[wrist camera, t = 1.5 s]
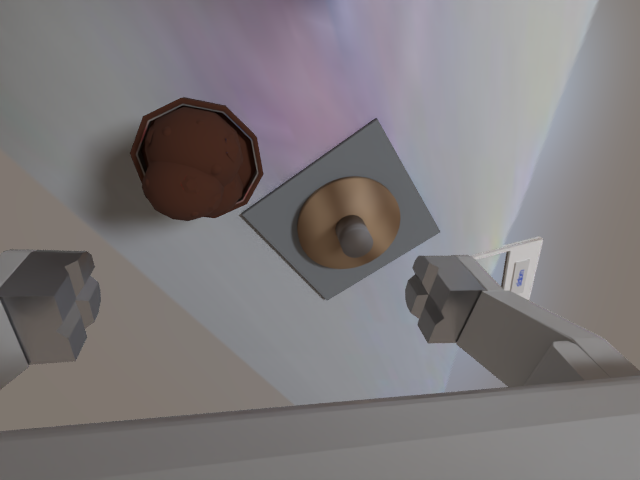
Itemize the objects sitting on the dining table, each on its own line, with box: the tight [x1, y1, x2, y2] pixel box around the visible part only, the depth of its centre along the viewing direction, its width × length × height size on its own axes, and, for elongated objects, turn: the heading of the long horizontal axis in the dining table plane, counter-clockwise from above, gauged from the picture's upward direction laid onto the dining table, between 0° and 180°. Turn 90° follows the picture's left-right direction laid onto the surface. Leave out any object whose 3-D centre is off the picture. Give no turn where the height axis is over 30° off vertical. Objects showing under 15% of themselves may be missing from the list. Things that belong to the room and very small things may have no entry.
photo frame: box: [471, 236, 543, 300], centre depth 60 cm, size 15×1×18 cm
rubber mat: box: [242, 118, 440, 300], centre depth 48 cm, size 20×20×1 cm
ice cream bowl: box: [130, 97, 263, 221], centre depth 33 cm, size 11×11×15 cm
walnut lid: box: [297, 176, 400, 269], centre depth 46 cm, size 14×14×5 cm
